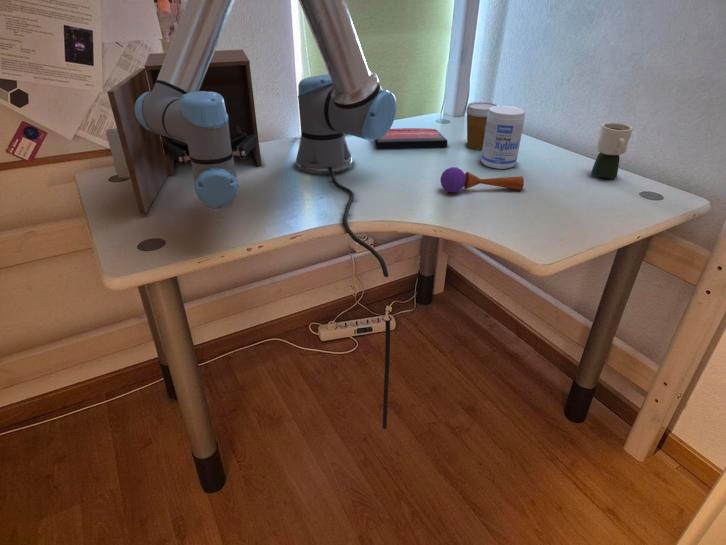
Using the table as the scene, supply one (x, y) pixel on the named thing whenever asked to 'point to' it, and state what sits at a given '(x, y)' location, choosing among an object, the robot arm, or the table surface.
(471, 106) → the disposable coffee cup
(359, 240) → the robot arm
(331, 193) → the table surface
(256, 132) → the cupboard
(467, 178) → the kendama
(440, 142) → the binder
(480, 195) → the table surface
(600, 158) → the character mug
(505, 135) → the supplement tub
